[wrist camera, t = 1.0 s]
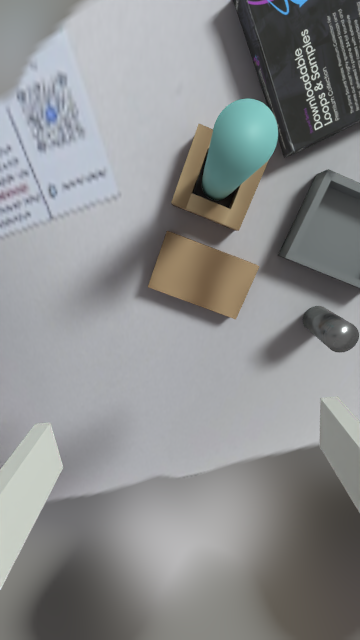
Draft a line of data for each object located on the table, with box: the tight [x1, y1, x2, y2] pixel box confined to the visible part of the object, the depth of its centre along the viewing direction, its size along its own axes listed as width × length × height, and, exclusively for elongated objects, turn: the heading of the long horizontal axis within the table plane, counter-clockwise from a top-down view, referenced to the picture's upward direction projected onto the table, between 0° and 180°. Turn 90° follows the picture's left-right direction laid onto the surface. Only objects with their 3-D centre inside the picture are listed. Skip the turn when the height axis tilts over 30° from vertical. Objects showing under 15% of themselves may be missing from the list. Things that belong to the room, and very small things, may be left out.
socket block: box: [171, 124, 269, 231], centre depth 29 cm, size 7×7×2 cm
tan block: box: [148, 231, 259, 319], centre depth 32 cm, size 10×6×2 cm, turn 70°
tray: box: [278, 169, 360, 288], centre depth 30 cm, size 10×8×3 cm
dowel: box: [202, 99, 278, 200], centre depth 22 cm, size 3×3×16 cm
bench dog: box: [303, 306, 359, 352], centre depth 31 cm, size 3×3×6 cm
